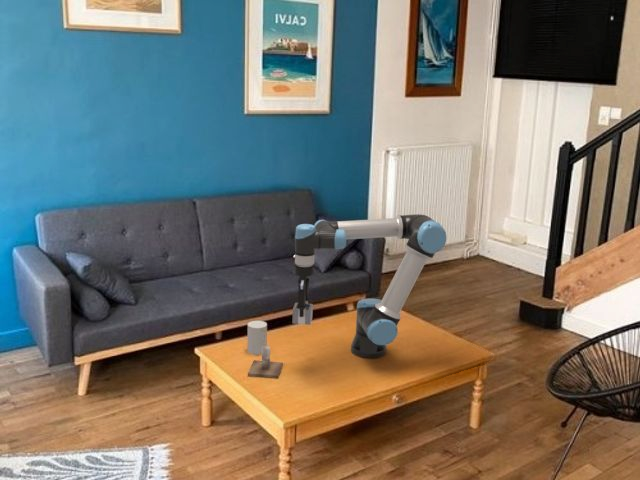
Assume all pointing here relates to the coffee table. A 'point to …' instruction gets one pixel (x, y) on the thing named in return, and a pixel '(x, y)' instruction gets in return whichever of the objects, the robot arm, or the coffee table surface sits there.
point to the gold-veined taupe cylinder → (256, 337)
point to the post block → (265, 366)
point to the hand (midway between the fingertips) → (302, 320)
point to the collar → (307, 313)
